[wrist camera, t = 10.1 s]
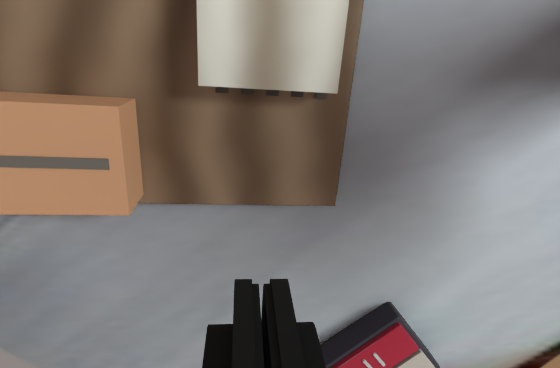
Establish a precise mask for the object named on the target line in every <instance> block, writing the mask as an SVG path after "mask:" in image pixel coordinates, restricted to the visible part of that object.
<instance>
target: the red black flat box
mask: <svg viewBox="0 0 560 368" xmlns="http://www.w3.org/2000/svg"><path fill="white" fill-rule="evenodd" d="M320 347H321V351H322V355H323V358H324V362H325V366H326V368H440V366H439V365H438V363H437V362H436V360H435V359H434V358H433V356H432V355H431V353H430V352H429V351H428V349H427V348H426V347H425V345H424V344H423V343H422V341H421V340H420V339H419V338H418V336H417V335H416V334H415V332H414V331H413V330H412V329H411V327H410V326H409V325H408V323H407V322H406V321H405V320H404V318H403V317H402V316H401V314H400V313H399V312H398V311H397V309H396V308H395V307H394V305H393V304H392V303H391V302H386V303H385V304H383V305H381V306H380V307H378V308H377V309H375V310H373V311H372V312H370V313H369V314H367V315H366V316H364V317H362V318H361V319H359V320H358V321H356V322H354V323H353V324H351V325H350V326H348V327H347V328H345V329H344V330H342V331H341V332H339V333H338V334H336V335H335V336H333V337H332V338H331V339H329V340H328V341H326V342H325V343H323V344H322V345H320Z"/></svg>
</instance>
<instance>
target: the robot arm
mask: <svg viewBox="0 0 560 368" xmlns="http://www.w3.org/2000/svg"><path fill="white" fill-rule="evenodd" d="M202 368H326V366H325V362H324V358H323V355H322V351H321V347H320V343H319V339H318V335H317V331H316V328H315V325H314V323H313V322H296V318H295V313H294V308H293V303H292V298H291V293H290V288H289V282H288V279H270V284H264V286H263V301H262V318H261V312H260V297H259V284H252V279H235V285H234V315H233V324H216V325H208V327H207V334H206V342H205V350H204V358H203V366H202Z"/></svg>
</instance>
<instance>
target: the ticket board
mask: <svg viewBox="0 0 560 368" xmlns="http://www.w3.org/2000/svg"><path fill="white" fill-rule="evenodd" d="M363 3H364V0H0V91H1V92H21V93H40V94H60V95H79V96H99V97H118V98H135V102H136V113H137V125H138V136H139V148H140V159H141V170H142V182H143V193H144V194H143V196H142V197H141V199H140V200H139V202H138V203H169V204H245V205H321V206H335V202H336V195H337V188H338V181H339V174H340V167H341V159H342V152H343V145H344V138H345V131H346V124H347V117H348V110H349V102H350V95H351V88H352V81H353V74H354V67H355V60H356V53H357V45H358V38H359V31H360V24H361V17H362V10H363Z"/></svg>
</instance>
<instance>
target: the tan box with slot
mask: <svg viewBox="0 0 560 368" xmlns="http://www.w3.org/2000/svg"><path fill="white" fill-rule="evenodd" d="M143 194H144V193H143V182H142V170H141V159H140V148H139V136H138V125H137V113H136V102H135V98H118V97H99V96H79V95H60V94H40V93H21V92H1V91H0V214H16V215H130V214H131V213H132V211H133V210H134V208H135V206H136V205H137V203H138V202H139V200H140V199H141V197H142V196H143Z"/></svg>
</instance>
